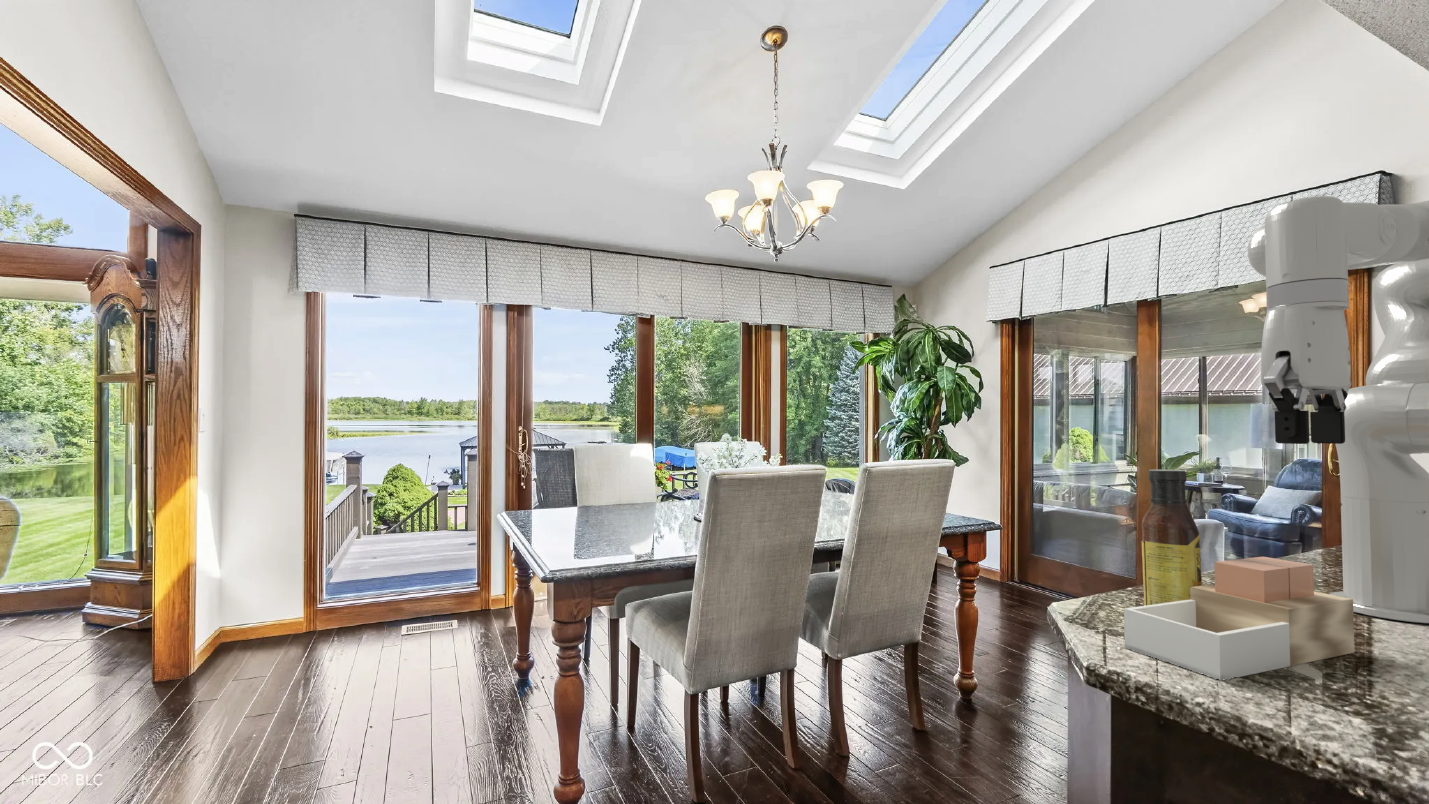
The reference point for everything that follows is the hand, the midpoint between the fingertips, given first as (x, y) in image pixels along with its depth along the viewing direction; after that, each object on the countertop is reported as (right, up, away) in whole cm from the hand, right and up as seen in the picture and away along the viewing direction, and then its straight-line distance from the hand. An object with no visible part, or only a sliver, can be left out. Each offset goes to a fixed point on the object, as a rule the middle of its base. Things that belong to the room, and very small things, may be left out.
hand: (1310, 442), depth 79 cm
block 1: (-12, -17, -5) cm, 22 cm away
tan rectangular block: (-9, -23, -4) cm, 25 cm away
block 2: (-7, -17, -3) cm, 19 cm away
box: (-19, -23, -8) cm, 32 cm away
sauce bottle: (-14, -24, +4) cm, 28 cm away
